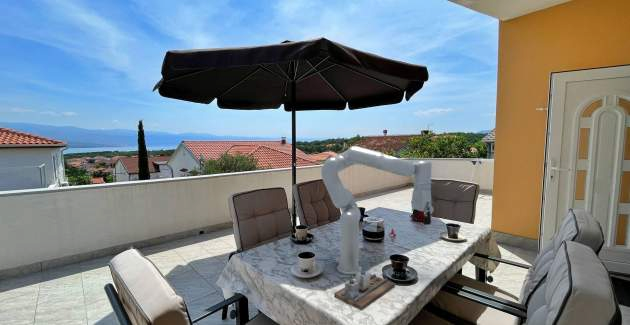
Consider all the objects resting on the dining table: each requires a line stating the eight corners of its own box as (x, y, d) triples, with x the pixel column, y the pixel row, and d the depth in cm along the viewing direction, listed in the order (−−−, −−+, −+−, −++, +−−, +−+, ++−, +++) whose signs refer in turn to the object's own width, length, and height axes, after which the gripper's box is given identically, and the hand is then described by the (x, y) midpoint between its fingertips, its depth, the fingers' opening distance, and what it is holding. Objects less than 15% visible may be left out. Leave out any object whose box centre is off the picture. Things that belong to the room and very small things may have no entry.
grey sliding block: (355, 289, 120) (355, 272, 120) (362, 285, 124) (362, 268, 123) (363, 292, 118) (363, 274, 117) (370, 288, 121) (370, 271, 121)
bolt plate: (334, 296, 118) (334, 277, 118) (368, 276, 136) (369, 260, 136) (361, 310, 108) (361, 289, 108) (394, 286, 126) (395, 268, 126)
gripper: (405, 184, 141) (404, 217, 142) (425, 189, 124) (424, 227, 125) (419, 184, 142) (418, 216, 143) (440, 189, 125) (439, 226, 126)
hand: (421, 221), depth 134 cm, fingers open, 9 cm apart
